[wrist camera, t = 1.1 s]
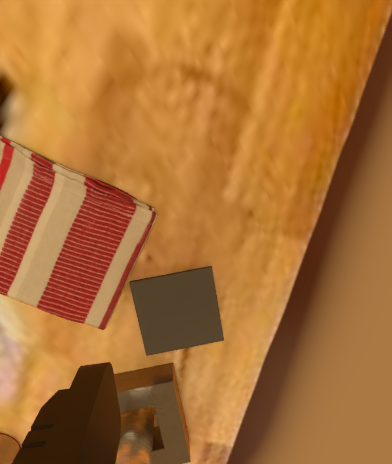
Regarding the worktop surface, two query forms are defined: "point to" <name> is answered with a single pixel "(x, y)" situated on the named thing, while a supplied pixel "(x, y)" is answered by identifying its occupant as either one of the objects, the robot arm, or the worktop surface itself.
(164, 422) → the bore block
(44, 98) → the worktop surface
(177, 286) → the rubber mat
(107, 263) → the dish towel
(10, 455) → the flower pot
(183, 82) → the worktop surface
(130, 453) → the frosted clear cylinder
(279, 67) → the worktop surface
